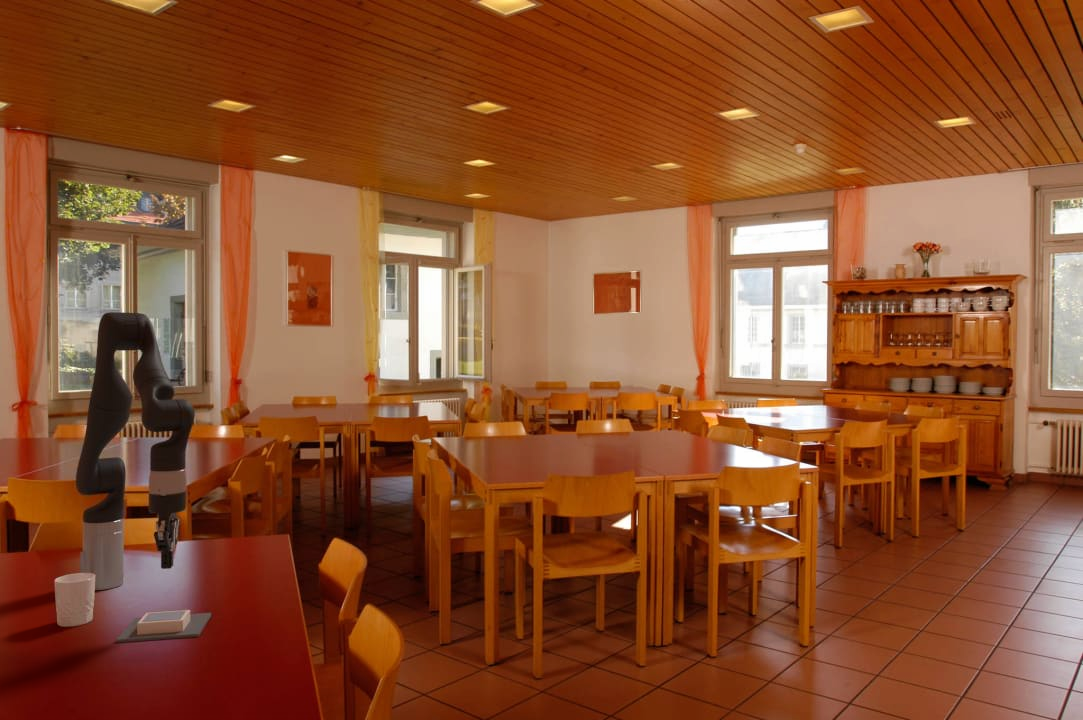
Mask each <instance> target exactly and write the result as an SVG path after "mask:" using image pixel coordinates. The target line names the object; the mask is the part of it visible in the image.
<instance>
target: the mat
mask: <svg viewBox="0 0 1083 720" xmlns="http://www.w3.org/2000/svg"><path fill="white" fill-rule="evenodd" d="M142 617H143V616H142ZM142 617H135V618H134V619H133V620H132V621H131V622H130V624H129V625H128V626H127V627H125V629H124V630H123V631H122V632H121V634H119V636H118V637H117V638H116V639H115V643H117V644H118V643H130V642H131V643H132V642H142V641H143V642H144V641H145V642H146V641H156V640H157V641H158V640H171V639H183V638H197V637H199V636H200V635H201V633H202V632H203V630H204V628H205V627H206V625H207V623H208V622H209V619H210V618H211V617H212V612H201V613H200V612H199V613H190V622H189V623H188V625H187V626H186V628H185V629H184V631H182V632H168V633H154V634H140V635H137V623H138V622H139V621H140V620H141V619H142Z"/></svg>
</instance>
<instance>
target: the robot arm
mask: <svg viewBox="0 0 1083 720" xmlns="http://www.w3.org/2000/svg"><path fill="white" fill-rule="evenodd" d="M96 342H97V343H96V357H95V358H96V359H95V369H94V376H93V382H92V385H91V386H92V388H91V393H90V398H89V403H88V410H87V418H86V419H87V420H86V425H85V426H86V429H85V434H84V439H83V444H82V448H81V452H80V454H79V458H78V459H79V460H78V463H77V468H76V474H75V486H76V490H77V492H78V493H79V494H80V495H83V496H95V495H103V494H105V495H106V494H107V495H106V497H105V498H103V500H101V501H100V502H98V503H96V504H95V505H92V506H90V507H88V508H86V509H85V510H84V511H83V514H82V550H81V552H80V553H79V573H92V574H95V591H102V590H109V589H114V588H116V587H120V586H122V585H123V584H124V575H125V574H124V565H125V564H124V560H125V559H124V554H125V553H124V551H125V550H124V540H125V539H124V538H125V537H124V534H125V533H124V529H125V528H124V525H125V524H124V523H125V522H124V518H125V517H124V516H125V515H124V511H125V496H126V495H125V494H126V493H125V492H126V477H127V471H126V465H125V462H124V460H123V459H122V458H120V457H116V456H114V457H102V458H100V456H101V453H102V452H103V450H104V449H105V448H106V446H107V445H109V443H110V442H111V441H112V440H114V438H115V437H116V436H118V434H119V433H120V432H121V431H122V430H123V429H124V427H125V426H126V425H127V423H128V422H129V419H130V414H131V408H132V403H133V394H132V391H131V389H130V387H129V385H128V384H127V382H126V380H125V379H124V378H123V376H122V375H121V373H120V372H119V370H118V368H117V365H116V363H115V353H116V352H117V351H122V352H123V351H125V352H126V351H140V352H141V356H140V358H139V360H138V361H137V362H136V365H135V367H134V368H133V372H132V380H133V383H134V386H135V388H136V391H137V393H138V395H139V396H140V401H141V402H140V403H141V423H142V426H143V427H144V428H145V429H146V430H147V431H149V432H152V433H162V432H172V434H171V436H170V437H169V438H168V439H166V440H163V441H160V442H156V443H154V444H152V446H151V447H150V451H149V452H150V454H149V455H150V456H149V459H150V460H149V461H150V463H149V464H150V465H149V466H150V467H149V469H150V470H149V477H148V512H149V513H150V514H153V515H155V514H157V515H158V519H157V520H156V521H155V530H156V531H154V533H153V538H154V541H155V546H156V549H157V552H159V553H160V568H161V569H162V570H167V569H168V570H169V569H171V568H173V567H174V550H175V549H176V545H177V543H178V537H179V530H180V525H181V520H180V518H179V517H178V513H181V512H184V511H185V510H186V509H187V484H188V483H187V472H186V451H187V446H188V442H189V438H190V434H191V431H192V428H193V426H194V421H195V416H196V415H195V408H194V405H193V404H192V403H191V402H190V401H189V400H188V399H184V398H177V399H174V396H175V387H174V386H173V383H172V381H171V380H170V378H169V376H168V374H167V371H166V369H165V367H164V364H163V361H162V357H161V352H160V349H159V344H158V341H157V336H156V333H155V329H154V327H153V323H152V321H151V320H150V318H149V317H148V315H147V314H144V313H142V312H141V313H139V312H122V311H121V312H115V311H113V312H111V311H110V312H106V313H104V314H103V315H102V316H101V318H100V320H99V325H98V331H97V341H96Z"/></svg>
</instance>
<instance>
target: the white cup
mask: <svg viewBox="0 0 1083 720" xmlns="http://www.w3.org/2000/svg"><path fill="white" fill-rule="evenodd" d="M95 591H96V590H95V574H92V573H80V572H78V573H71V574H65V575H62V576H59V577H56V578H54V594H55V595H54V598H55V609H56V620H57V621H56V624H57V626H59V627H64V628H70V627H77V626H82V625H86V624H88V623H90V622H92V620H93V617H94V606H95V596H96V595H95V594H96V593H95Z"/></svg>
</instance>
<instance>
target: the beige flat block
mask: <svg viewBox="0 0 1083 720" xmlns="http://www.w3.org/2000/svg"><path fill="white" fill-rule="evenodd" d="M190 614H191V610H190V609H182V610H171V611H169V610H168V611H157V612H156V611H155V612H154V611H153V612H151V611H150V612H146V613H145V614H144V615H143V616H142V619H141V620H140V621H139V622H138V623H137V635H140V634H154V633H168V632H182V631H184V629H185V628H186V626H187V625H188V623H189V622H190Z"/></svg>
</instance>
